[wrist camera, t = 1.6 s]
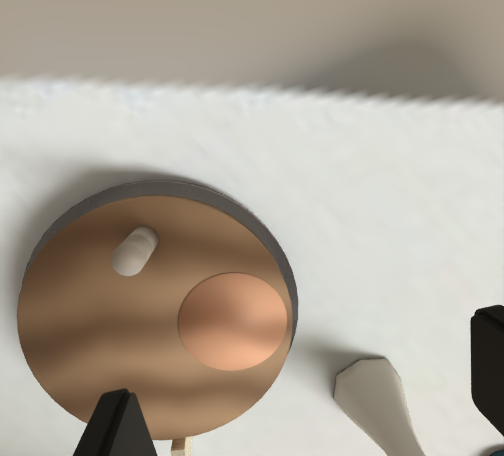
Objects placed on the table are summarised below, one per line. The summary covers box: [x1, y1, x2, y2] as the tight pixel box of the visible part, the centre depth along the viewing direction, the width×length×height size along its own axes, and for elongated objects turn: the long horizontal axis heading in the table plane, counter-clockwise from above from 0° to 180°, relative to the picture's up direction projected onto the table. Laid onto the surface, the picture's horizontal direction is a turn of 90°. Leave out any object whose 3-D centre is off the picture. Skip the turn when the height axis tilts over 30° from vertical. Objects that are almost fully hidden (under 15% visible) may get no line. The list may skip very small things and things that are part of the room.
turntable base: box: [22, 180, 298, 456], centre depth 29 cm, size 26×24×4 cm
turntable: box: [17, 195, 293, 440], centre depth 26 cm, size 22×22×7 cm
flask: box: [334, 359, 426, 456], centre depth 30 cm, size 7×7×10 cm
